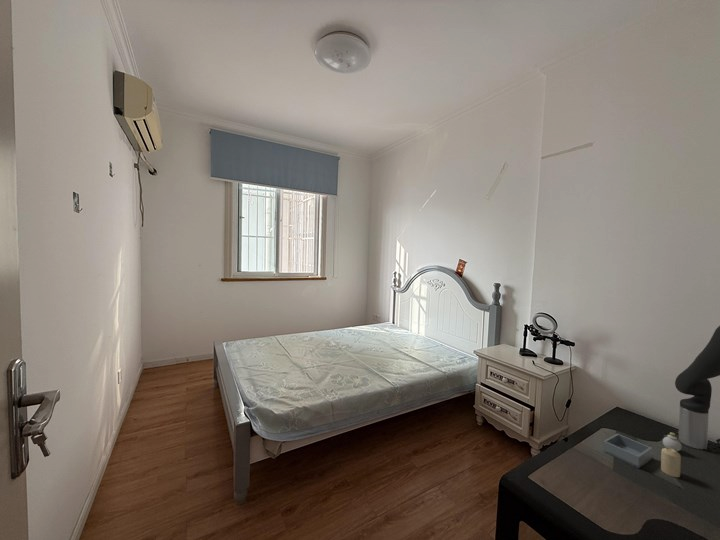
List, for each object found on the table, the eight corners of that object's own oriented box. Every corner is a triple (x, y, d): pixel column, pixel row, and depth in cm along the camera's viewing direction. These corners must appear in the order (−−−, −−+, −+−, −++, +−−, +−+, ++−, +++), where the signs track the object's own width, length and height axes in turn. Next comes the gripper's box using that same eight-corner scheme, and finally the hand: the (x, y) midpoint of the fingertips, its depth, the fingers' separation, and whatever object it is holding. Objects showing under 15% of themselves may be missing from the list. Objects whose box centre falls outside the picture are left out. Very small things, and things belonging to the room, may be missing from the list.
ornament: (664, 444, 141) (664, 424, 141) (686, 453, 135) (687, 431, 135) (661, 449, 138) (661, 428, 137) (684, 457, 131) (685, 436, 131)
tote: (617, 443, 141) (617, 433, 141) (652, 459, 130) (652, 448, 130) (602, 451, 135) (603, 440, 135) (638, 468, 124) (638, 457, 124)
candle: (684, 478, 118) (684, 454, 118) (668, 476, 120) (668, 452, 119) (672, 469, 124) (673, 446, 124) (657, 467, 125) (658, 444, 125)
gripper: (759, 415, 106) (710, 431, 117) (748, 424, 100) (698, 440, 110) (784, 437, 102) (731, 451, 112) (775, 449, 95) (719, 462, 105)
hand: (714, 446), depth 111 cm, fingers open, 8 cm apart
